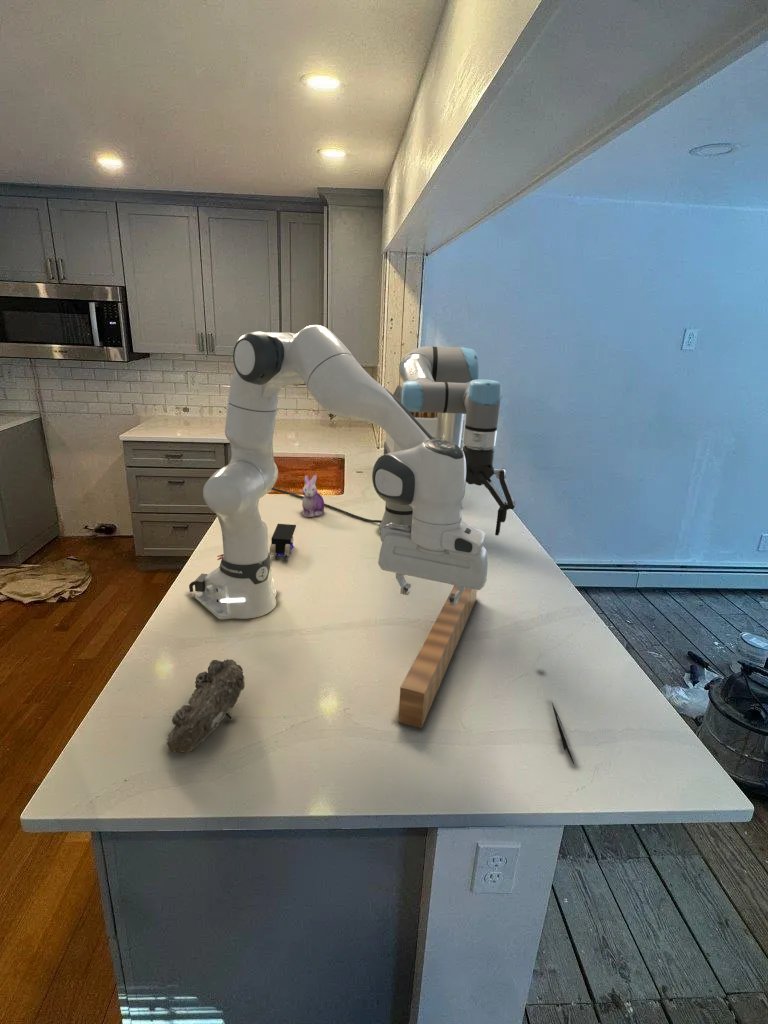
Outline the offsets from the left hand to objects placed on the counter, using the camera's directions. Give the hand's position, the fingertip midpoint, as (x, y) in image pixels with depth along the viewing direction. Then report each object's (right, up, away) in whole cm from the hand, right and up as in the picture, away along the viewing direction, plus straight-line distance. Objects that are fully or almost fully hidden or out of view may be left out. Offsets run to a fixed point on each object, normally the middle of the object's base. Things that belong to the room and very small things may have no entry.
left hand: (428, 598), depth 107 cm
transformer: (+9, +35, +168) cm, 172 cm away
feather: (+26, -24, +6) cm, 36 cm away
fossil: (-41, -23, +1) cm, 47 cm away
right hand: (+13, +12, +35) cm, 40 cm away
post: (+6, -16, +26) cm, 31 cm away
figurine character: (-40, +3, +73) cm, 84 cm away
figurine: (-35, +16, +108) cm, 115 cm away
